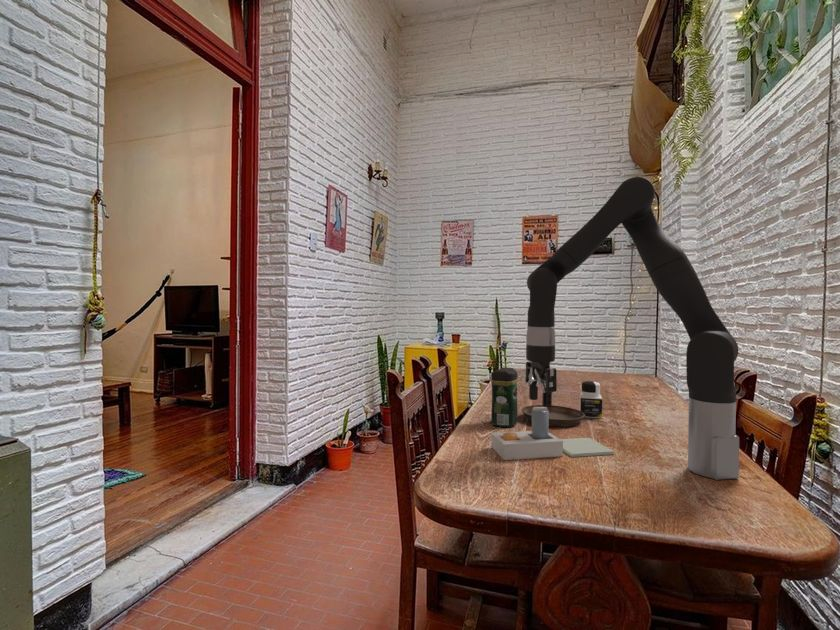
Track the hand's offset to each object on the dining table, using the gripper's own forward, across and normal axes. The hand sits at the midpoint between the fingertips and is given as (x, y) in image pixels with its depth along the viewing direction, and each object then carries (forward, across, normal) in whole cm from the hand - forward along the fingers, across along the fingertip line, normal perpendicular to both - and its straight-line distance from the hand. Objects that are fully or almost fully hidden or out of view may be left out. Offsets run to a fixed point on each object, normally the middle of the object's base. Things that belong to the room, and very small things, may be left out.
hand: (539, 403), depth 118 cm
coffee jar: (+13, +26, 0) cm, 30 cm away
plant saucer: (+14, +29, -18) cm, 36 cm away
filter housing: (+13, 0, +4) cm, 14 cm away
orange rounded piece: (+11, -1, +9) cm, 14 cm away
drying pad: (+13, 0, -12) cm, 18 cm away
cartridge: (+13, 0, 0) cm, 13 cm away
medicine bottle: (+13, +32, -34) cm, 48 cm away
